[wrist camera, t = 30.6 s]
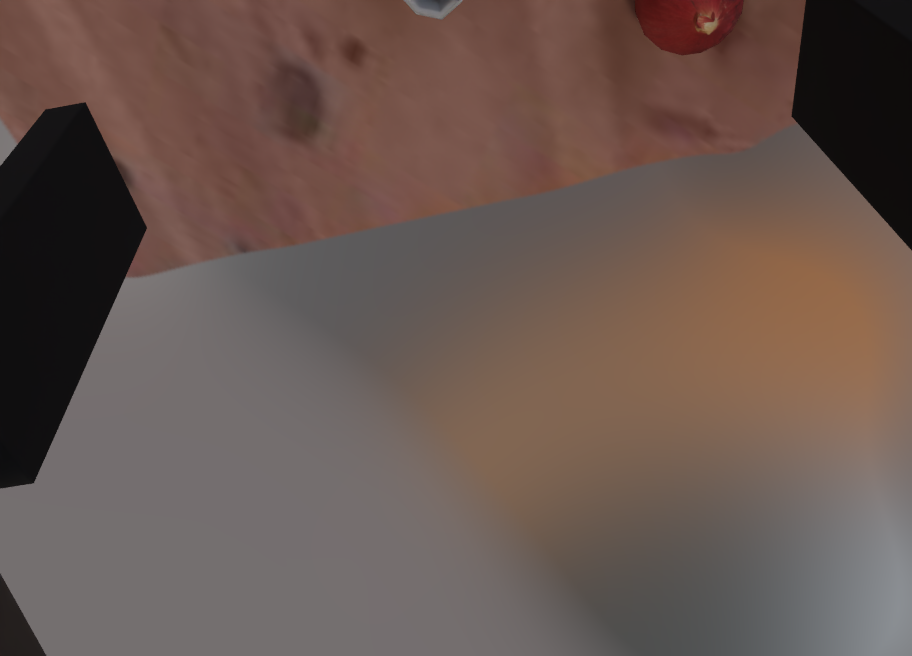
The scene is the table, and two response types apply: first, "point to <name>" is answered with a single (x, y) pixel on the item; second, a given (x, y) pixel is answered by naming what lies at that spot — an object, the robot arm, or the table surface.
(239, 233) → the table surface
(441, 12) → the flask
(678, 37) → the pomegranate
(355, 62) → the table surface
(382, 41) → the table surface
